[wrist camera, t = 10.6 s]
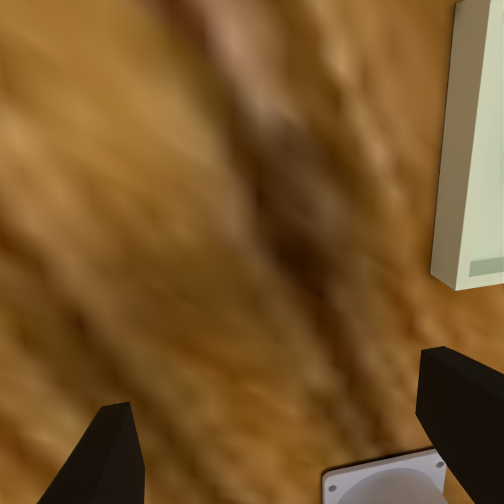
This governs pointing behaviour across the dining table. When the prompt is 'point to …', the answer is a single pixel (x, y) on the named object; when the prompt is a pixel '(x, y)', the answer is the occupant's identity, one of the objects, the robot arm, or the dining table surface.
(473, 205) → the tray
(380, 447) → the dining table surface
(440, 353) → the robot arm
